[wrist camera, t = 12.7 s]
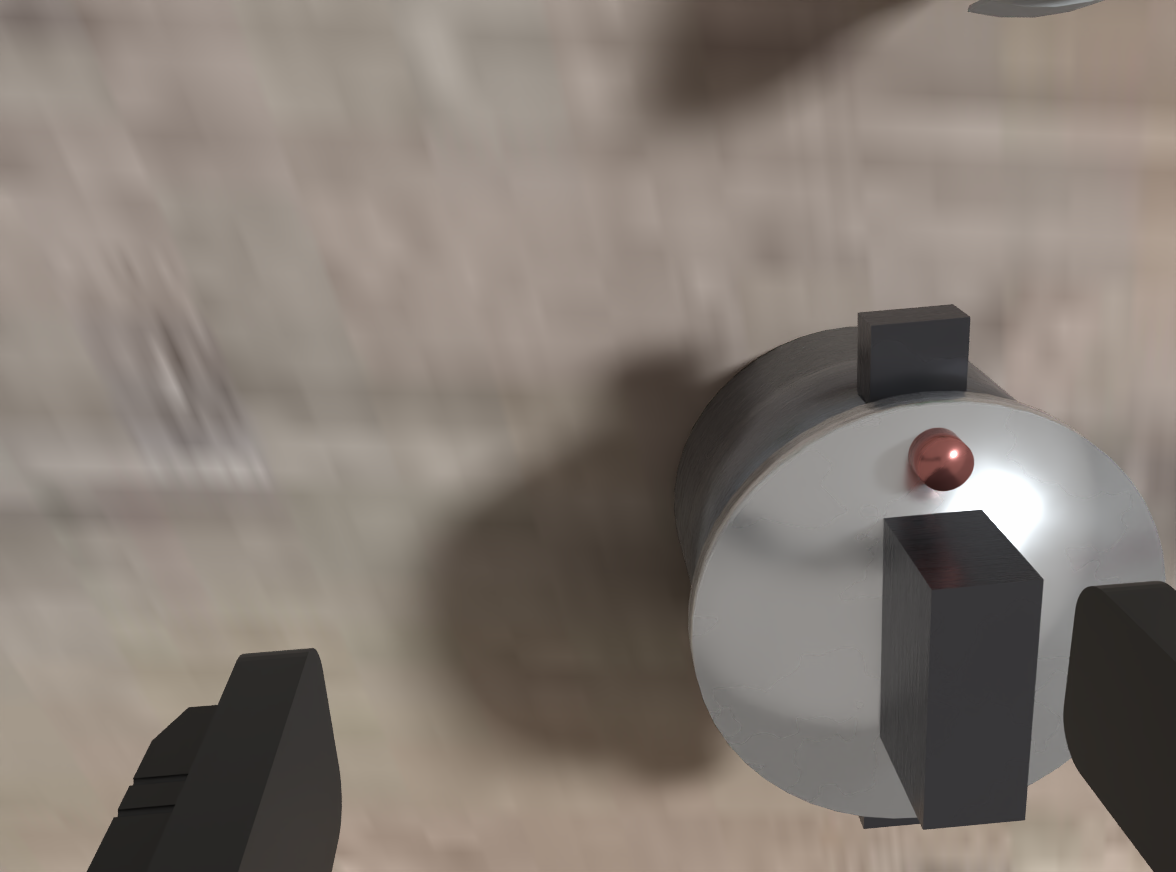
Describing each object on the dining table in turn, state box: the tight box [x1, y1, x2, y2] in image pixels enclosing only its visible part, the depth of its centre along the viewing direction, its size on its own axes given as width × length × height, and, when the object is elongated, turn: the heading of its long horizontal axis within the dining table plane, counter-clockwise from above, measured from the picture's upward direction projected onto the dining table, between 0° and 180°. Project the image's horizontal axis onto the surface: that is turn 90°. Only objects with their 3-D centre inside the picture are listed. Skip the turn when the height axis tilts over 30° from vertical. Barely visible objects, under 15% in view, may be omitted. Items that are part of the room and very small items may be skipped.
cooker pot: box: [674, 304, 1016, 829], centre depth 40 cm, size 14×19×9 cm
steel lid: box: [688, 391, 1166, 830], centre depth 33 cm, size 15×15×6 cm
